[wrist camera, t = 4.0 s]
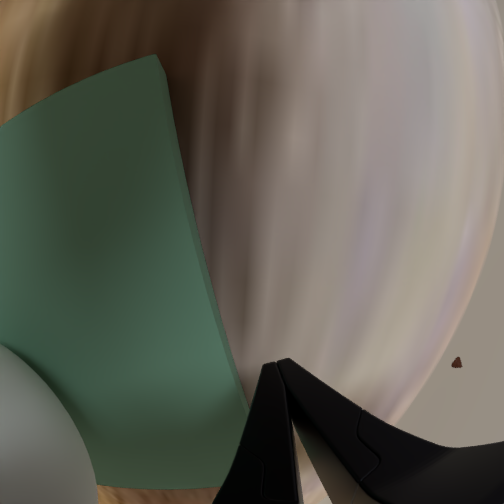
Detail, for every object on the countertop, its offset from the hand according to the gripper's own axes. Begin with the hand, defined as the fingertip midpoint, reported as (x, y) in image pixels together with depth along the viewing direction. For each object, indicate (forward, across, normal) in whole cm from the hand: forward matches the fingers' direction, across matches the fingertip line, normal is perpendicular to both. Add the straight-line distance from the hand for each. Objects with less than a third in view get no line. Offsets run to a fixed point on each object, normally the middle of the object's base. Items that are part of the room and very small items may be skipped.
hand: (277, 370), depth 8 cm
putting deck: (+3, +16, 0) cm, 17 cm away
